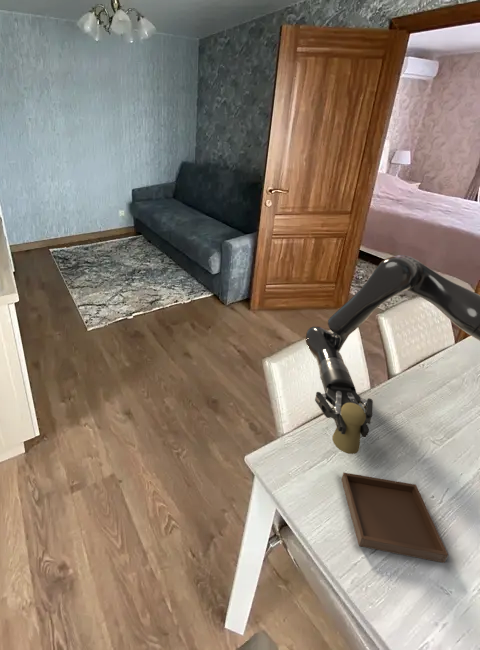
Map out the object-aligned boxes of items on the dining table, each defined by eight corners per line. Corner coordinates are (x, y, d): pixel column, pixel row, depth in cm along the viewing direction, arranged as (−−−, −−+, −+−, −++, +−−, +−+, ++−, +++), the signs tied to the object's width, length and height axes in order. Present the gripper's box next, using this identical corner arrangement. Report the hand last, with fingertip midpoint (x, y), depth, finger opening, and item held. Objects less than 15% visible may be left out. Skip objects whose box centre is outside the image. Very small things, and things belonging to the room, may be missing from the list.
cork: (327, 440, 84) (335, 407, 80) (339, 427, 87) (347, 394, 83) (352, 459, 79) (362, 424, 75) (364, 443, 83) (373, 409, 79)
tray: (413, 491, 77) (416, 484, 76) (444, 563, 65) (448, 555, 64) (341, 479, 80) (343, 472, 79) (358, 546, 68) (361, 538, 67)
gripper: (310, 364, 94) (324, 416, 78) (366, 371, 91) (392, 426, 76) (306, 385, 97) (319, 440, 81) (360, 392, 94) (384, 449, 79)
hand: (354, 433), depth 78 cm, fingers closed on cork, 4 cm apart
